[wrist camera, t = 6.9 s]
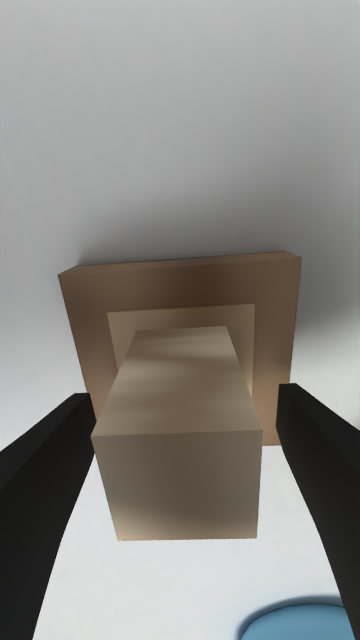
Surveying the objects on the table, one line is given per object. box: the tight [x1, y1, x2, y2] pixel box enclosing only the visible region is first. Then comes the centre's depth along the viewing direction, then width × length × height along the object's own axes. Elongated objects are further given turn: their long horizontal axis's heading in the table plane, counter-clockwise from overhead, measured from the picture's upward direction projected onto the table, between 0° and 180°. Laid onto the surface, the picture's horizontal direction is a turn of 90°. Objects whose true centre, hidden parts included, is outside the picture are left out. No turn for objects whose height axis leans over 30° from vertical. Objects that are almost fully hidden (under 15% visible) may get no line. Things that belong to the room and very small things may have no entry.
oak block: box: [91, 326, 263, 541], centre depth 10 cm, size 4×4×6 cm
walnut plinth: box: [58, 251, 301, 446], centre depth 13 cm, size 10×10×2 cm
